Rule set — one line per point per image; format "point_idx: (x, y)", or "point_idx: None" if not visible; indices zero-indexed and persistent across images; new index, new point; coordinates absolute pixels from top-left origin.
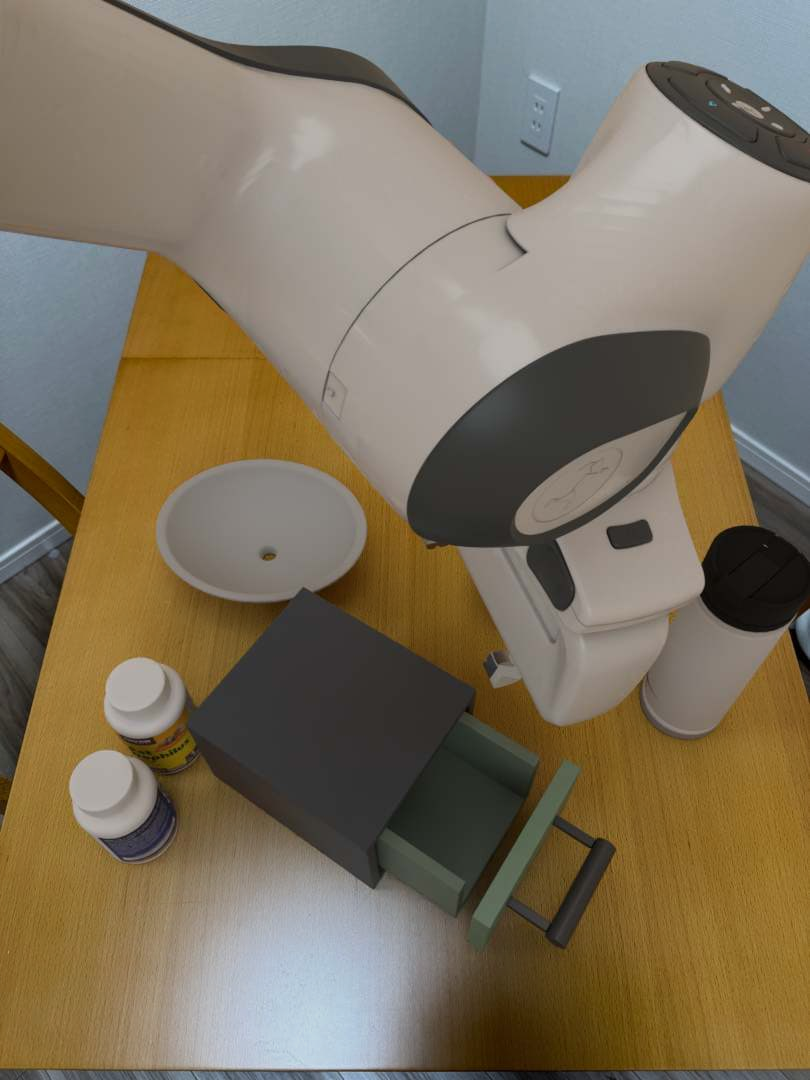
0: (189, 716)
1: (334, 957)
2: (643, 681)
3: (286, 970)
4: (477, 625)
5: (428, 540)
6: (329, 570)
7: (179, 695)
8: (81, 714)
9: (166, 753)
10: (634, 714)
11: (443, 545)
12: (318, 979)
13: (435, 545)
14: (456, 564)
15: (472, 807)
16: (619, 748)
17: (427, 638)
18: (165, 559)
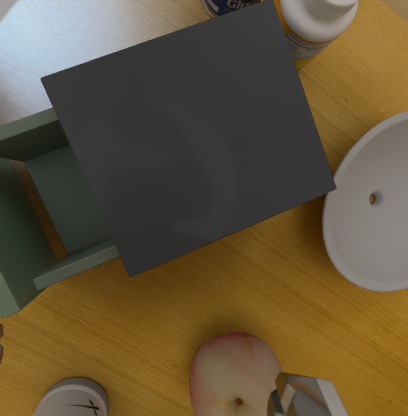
0: None
1: (60, 65)
2: (102, 395)
3: (72, 31)
4: (223, 308)
5: (293, 393)
6: (334, 231)
7: (303, 24)
8: None
9: None
10: (88, 369)
11: (270, 399)
12: (53, 47)
13: (278, 390)
14: (278, 325)
15: (86, 215)
16: (72, 342)
17: (236, 268)
18: None
